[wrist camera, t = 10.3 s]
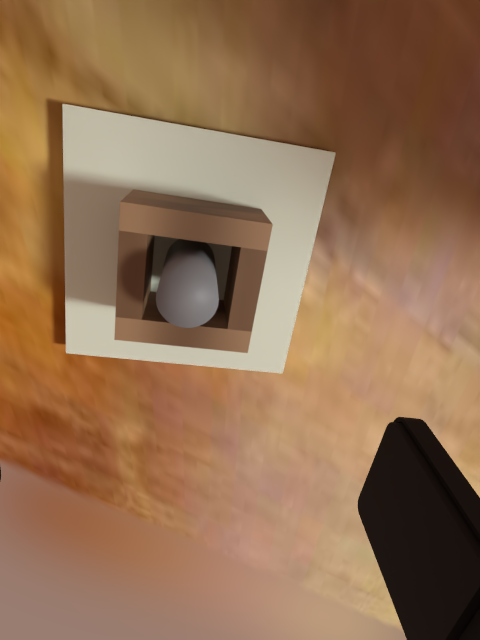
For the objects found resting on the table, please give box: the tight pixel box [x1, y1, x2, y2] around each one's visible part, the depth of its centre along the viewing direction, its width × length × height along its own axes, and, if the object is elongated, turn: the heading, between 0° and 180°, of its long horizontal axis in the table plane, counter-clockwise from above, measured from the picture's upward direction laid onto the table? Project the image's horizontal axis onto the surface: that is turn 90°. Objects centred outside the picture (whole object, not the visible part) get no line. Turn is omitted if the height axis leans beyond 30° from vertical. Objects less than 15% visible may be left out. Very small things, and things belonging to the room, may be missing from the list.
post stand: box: [62, 104, 336, 373], centre depth 21 cm, size 14×14×7 cm
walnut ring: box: [114, 189, 273, 353], centre depth 22 cm, size 7×7×4 cm
